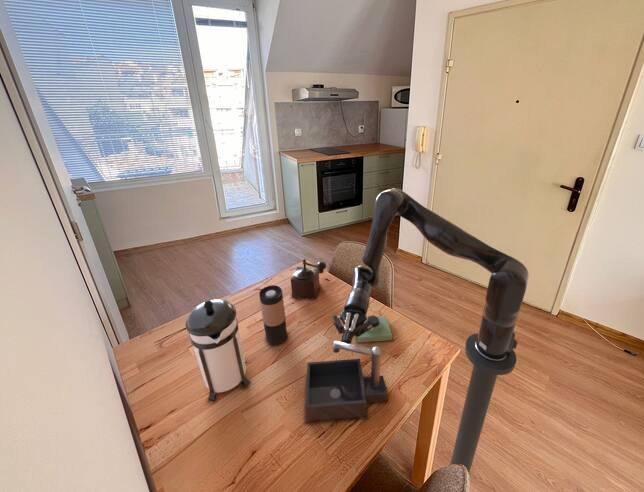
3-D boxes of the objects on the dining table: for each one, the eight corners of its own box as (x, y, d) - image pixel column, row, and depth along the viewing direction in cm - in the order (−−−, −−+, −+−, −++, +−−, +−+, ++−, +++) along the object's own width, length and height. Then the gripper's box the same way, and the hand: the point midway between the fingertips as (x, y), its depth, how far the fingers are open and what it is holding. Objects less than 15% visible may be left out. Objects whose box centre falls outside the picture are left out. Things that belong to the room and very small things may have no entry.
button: (377, 318, 108) (377, 315, 108) (379, 326, 105) (379, 323, 104) (366, 319, 108) (366, 315, 107) (368, 327, 105) (368, 323, 104)
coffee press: (263, 364, 95) (250, 288, 83) (230, 410, 81) (209, 327, 69) (220, 350, 101) (202, 277, 88) (182, 390, 87) (155, 311, 75)
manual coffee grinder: (291, 298, 125) (287, 262, 118) (298, 283, 135) (295, 249, 128) (326, 301, 123) (325, 265, 116) (331, 286, 133) (330, 251, 126)
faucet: (380, 381, 85) (382, 345, 80) (378, 389, 83) (380, 353, 77) (335, 369, 89) (334, 334, 83) (332, 377, 87) (331, 341, 81)
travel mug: (264, 332, 108) (257, 288, 100) (285, 327, 110) (280, 283, 102) (267, 348, 101) (260, 301, 93) (289, 341, 104) (284, 296, 95)
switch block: (385, 320, 113) (386, 311, 111) (391, 340, 104) (392, 331, 102) (355, 322, 112) (355, 313, 110) (358, 342, 103) (358, 333, 101)
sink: (380, 370, 92) (380, 356, 90) (389, 415, 80) (391, 400, 77) (308, 376, 91) (307, 362, 88) (306, 422, 78) (305, 407, 76)
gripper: (338, 292, 98) (322, 329, 83) (377, 297, 95) (368, 337, 80) (338, 309, 101) (323, 349, 86) (376, 315, 98) (368, 357, 83)
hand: (345, 343), depth 83 cm, fingers closed
